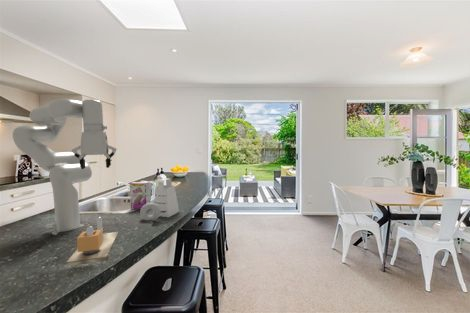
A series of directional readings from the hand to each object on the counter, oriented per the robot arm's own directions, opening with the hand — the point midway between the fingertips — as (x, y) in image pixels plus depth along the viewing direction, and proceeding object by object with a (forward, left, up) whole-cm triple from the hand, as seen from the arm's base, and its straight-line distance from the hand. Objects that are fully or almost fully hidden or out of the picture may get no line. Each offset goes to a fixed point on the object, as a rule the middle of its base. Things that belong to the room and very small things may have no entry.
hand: (95, 168), depth 107 cm
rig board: (+2, -15, -30) cm, 34 cm away
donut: (+21, +12, -31) cm, 39 cm away
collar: (+2, -22, -27) cm, 35 cm away
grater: (+29, +24, -31) cm, 48 cm away
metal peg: (+2, -22, -29) cm, 36 cm away
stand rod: (+2, -8, -29) cm, 30 cm away
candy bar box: (+14, +42, -31) cm, 54 cm away
